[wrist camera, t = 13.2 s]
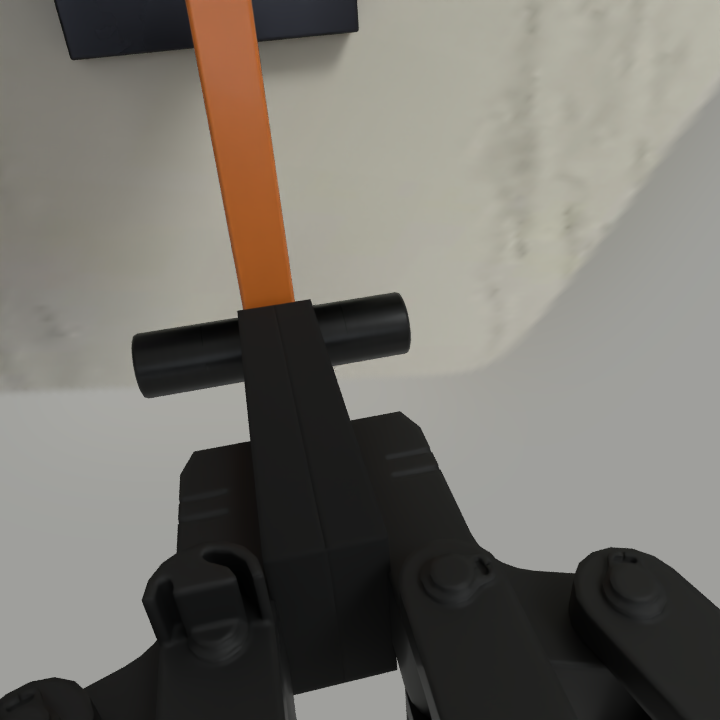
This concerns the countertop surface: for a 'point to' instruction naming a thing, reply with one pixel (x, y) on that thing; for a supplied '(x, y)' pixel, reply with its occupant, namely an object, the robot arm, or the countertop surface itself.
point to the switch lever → (251, 227)
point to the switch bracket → (187, 24)
